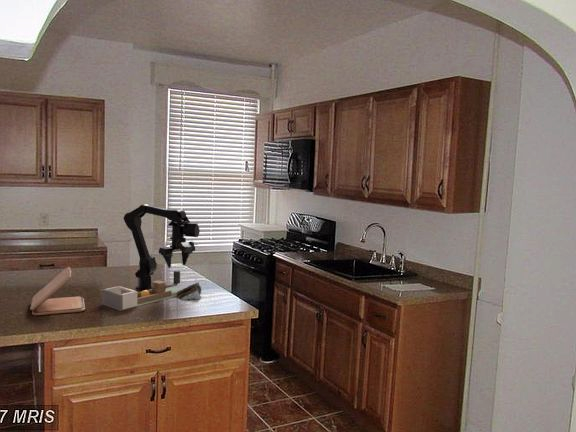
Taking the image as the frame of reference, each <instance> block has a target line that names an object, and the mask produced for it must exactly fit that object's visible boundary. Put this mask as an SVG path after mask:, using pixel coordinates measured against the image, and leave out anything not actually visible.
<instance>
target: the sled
mask: <svg viewBox="0 0 576 432" xmlns="http://www.w3.org/2000/svg"><path fill="white" fill-rule="evenodd" d="M172 281H173V283H169V284H167V283H166V281H163V280H155V281H151V286H152V288H151V289H152V294H157V293H161V292H165V290H166V289H168V288H172V287H173V288H174V287H176V286H178V285H179V284H180V283H181V270H174V271H173V280H172Z"/></svg>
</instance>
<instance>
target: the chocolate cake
mask: <svg viewBox="0 0 576 432" xmlns="http://www.w3.org/2000/svg"><path fill="white" fill-rule="evenodd" d="M201 294H202V287H201V285H200V283H199V282H195V283H193V284H190V285H188V286H187V287H184V288H182V289H180V291H178V292H177V293H176V295H177V296H176V297H179V300H187V301H190V300H196V301H198V300H201Z"/></svg>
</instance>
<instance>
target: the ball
mask: <svg viewBox="0 0 576 432" xmlns="http://www.w3.org/2000/svg"><path fill="white" fill-rule="evenodd" d="M147 290H148V289H146V290H142V292H141V291H140V292H141V297H144V296H148V295H150V294H149V291H147Z"/></svg>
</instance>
